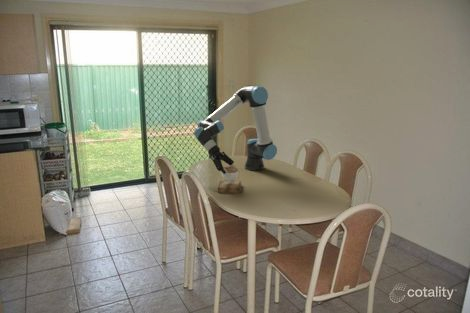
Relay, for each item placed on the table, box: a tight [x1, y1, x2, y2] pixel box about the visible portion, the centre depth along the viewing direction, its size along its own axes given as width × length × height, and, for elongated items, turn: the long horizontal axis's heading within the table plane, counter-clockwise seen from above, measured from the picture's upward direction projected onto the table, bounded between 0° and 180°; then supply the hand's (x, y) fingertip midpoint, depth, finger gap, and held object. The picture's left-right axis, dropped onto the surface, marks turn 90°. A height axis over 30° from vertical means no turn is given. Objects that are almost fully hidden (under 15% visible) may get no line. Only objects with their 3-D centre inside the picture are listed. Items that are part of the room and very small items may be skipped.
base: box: [217, 180, 242, 194], centre depth 226 cm, size 14×14×3 cm
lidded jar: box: [220, 165, 239, 182], centre depth 224 cm, size 11×11×9 cm
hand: (233, 174), depth 223 cm, fingers closed on lidded jar, 11 cm apart
